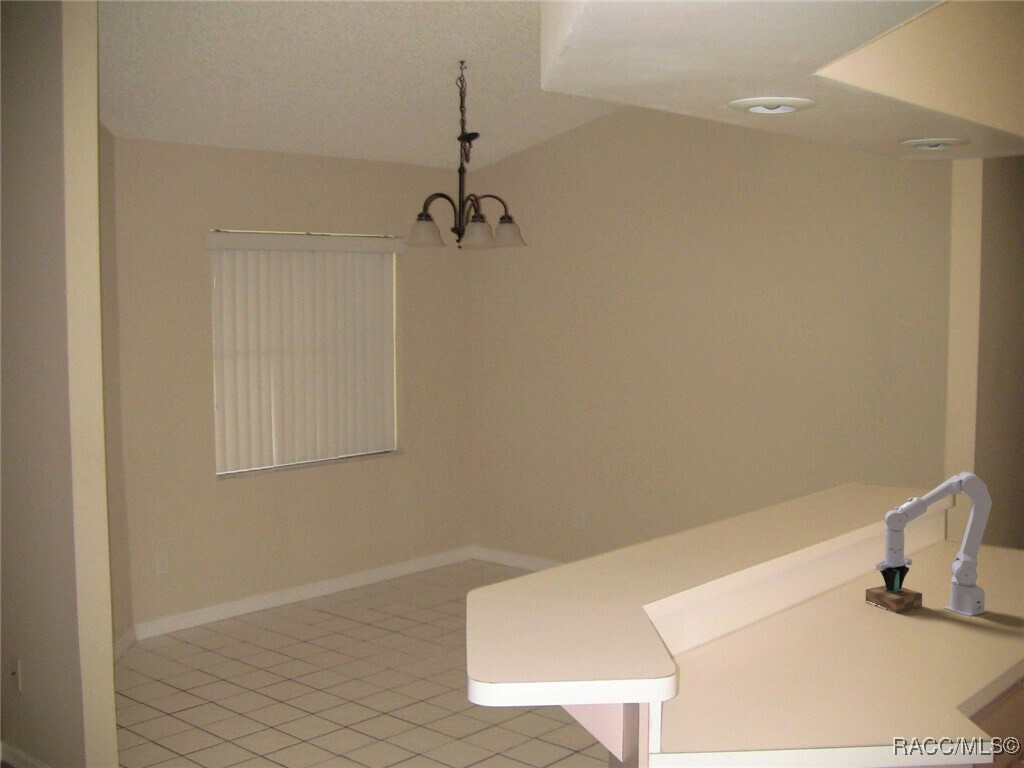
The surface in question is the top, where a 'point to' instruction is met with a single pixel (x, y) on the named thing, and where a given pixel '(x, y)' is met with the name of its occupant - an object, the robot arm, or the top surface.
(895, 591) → the peg
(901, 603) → the socket block
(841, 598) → the top surface
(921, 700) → the top surface
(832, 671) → the top surface
